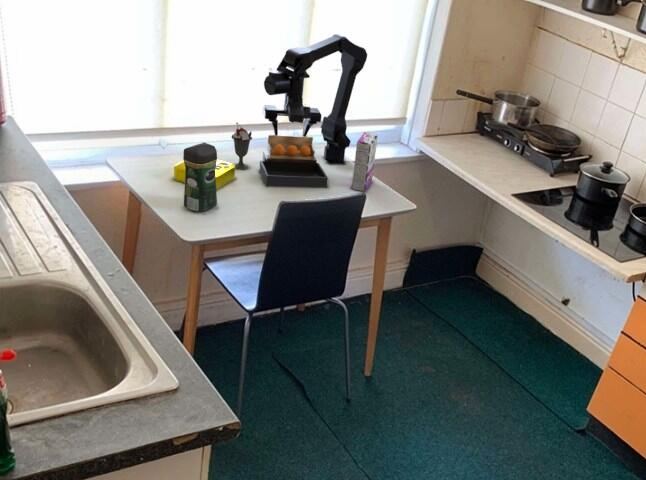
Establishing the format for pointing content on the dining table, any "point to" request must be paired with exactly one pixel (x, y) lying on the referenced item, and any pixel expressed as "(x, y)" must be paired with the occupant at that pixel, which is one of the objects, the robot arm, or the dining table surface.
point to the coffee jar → (200, 177)
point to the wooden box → (288, 141)
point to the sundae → (241, 145)
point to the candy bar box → (364, 161)
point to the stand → (267, 158)
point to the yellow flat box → (223, 172)
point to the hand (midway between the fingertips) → (289, 139)
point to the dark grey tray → (293, 174)
